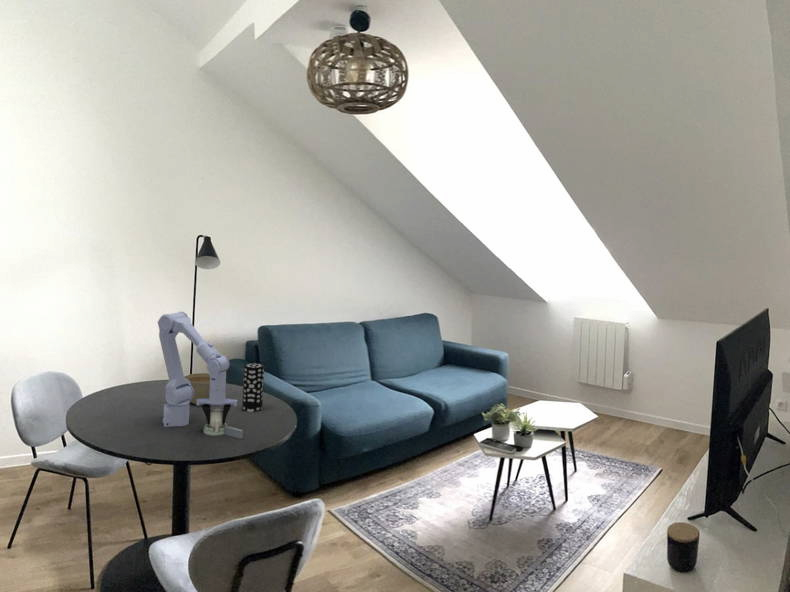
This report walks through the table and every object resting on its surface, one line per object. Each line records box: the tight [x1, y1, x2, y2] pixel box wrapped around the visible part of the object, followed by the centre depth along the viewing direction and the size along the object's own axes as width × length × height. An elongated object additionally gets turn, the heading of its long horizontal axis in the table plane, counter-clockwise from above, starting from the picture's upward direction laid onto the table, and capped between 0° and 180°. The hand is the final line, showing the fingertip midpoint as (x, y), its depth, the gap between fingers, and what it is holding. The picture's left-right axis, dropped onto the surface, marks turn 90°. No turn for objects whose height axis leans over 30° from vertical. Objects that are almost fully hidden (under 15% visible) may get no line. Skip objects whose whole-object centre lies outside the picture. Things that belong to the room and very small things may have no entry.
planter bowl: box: [184, 372, 210, 405], centre depth 252 cm, size 16×16×11 cm
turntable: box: [203, 422, 244, 440], centre depth 214 cm, size 14×14×3 cm
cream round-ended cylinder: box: [210, 408, 223, 432], centre depth 214 cm, size 8×5×7 cm, turn 20°
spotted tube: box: [241, 362, 265, 413], centre depth 243 cm, size 8×8×20 cm
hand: (216, 423), depth 215 cm, fingers closed on cream round-ended cylinder, 5 cm apart
